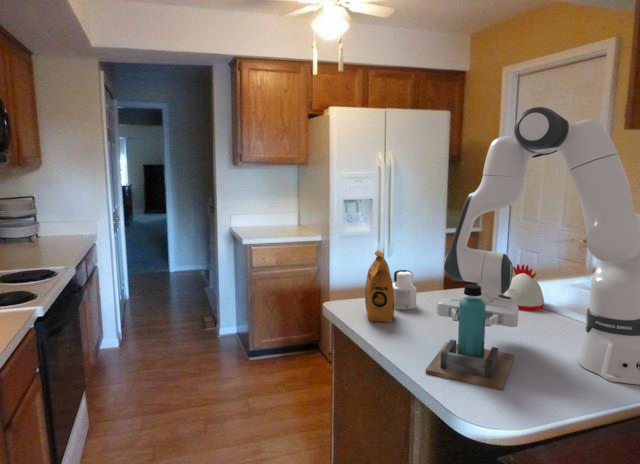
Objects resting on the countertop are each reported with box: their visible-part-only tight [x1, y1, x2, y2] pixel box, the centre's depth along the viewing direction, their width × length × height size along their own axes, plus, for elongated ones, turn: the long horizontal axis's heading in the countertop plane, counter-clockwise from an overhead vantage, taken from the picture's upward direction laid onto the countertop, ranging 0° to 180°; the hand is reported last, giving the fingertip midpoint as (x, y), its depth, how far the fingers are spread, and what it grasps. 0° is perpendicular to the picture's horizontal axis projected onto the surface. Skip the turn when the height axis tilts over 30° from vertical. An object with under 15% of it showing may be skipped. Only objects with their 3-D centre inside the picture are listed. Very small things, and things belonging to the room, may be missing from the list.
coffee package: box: [364, 249, 395, 323], centre depth 155 cm, size 10×12×22 cm
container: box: [392, 269, 417, 310], centre depth 167 cm, size 8×8×13 cm
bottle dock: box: [425, 339, 515, 391], centre depth 119 cm, size 18×20×5 cm
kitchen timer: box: [504, 263, 545, 312], centre depth 168 cm, size 14×14×15 cm
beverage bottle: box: [457, 283, 486, 359], centre depth 116 cm, size 6×7×20 cm
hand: (471, 320), depth 115 cm, fingers closed on beverage bottle, 6 cm apart
